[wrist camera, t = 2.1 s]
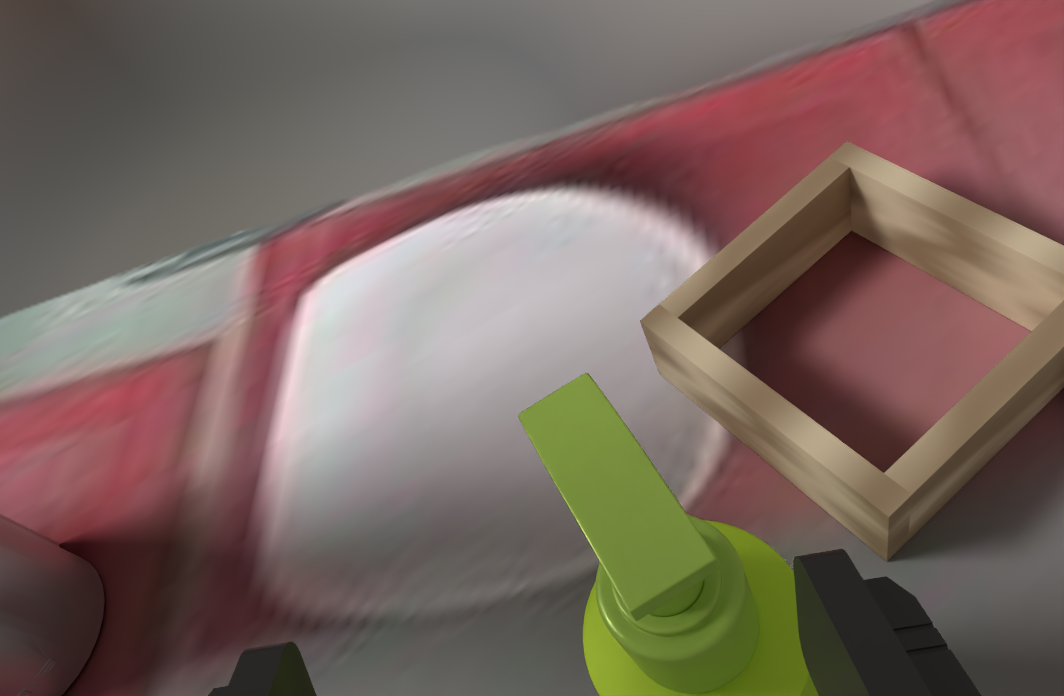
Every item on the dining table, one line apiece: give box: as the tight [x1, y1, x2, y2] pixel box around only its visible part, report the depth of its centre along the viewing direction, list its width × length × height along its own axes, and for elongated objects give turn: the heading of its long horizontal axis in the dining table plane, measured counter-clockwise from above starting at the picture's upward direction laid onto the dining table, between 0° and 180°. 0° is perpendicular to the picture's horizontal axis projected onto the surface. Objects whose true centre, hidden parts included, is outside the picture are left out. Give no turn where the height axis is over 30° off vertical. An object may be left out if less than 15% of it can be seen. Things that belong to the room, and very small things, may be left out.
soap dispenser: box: [518, 373, 819, 696], centre depth 24 cm, size 6×7×20 cm
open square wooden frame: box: [640, 142, 1064, 561], centre depth 37 cm, size 13×13×4 cm
